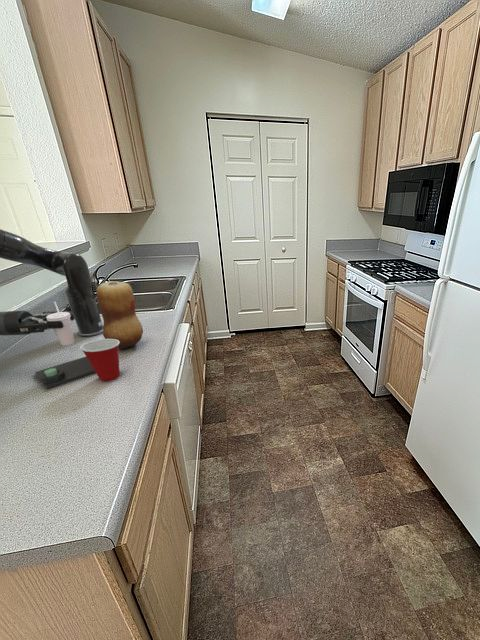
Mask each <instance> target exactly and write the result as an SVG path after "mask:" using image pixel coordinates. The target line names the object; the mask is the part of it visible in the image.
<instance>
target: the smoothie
mask: <svg viewBox="0 0 480 640" xmlns="http://www.w3.org/2000/svg"><path fill="white" fill-rule="evenodd" d="M53 304H54V306H55V309H56V312H58V313H53V314H50V315H48V316H47V317H46V318H47V321H62V323H63V325H64V327H63V328H55V329H52V330H53V332H54V333H55V335H56V337H57V339H58V341H59V343H60V344H61V346H70V345H73V344H74V343H75V337H74V331H73V326H72V321H71V320H70V317H71V315H70V314H71V313H70V312H68V311H61V312H59V311H60V309H59V306H58V304H57V301H53Z"/></svg>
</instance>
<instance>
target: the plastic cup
mask: <svg viewBox="0 0 480 640" xmlns="http://www.w3.org/2000/svg"><path fill="white" fill-rule="evenodd" d="M119 343H120V342H119V340H116V339H105V338H100V339H94V340H90V341H87V342H85V343H82V344H81V345H80V346H79V349H80V351H81V352H82V353H83V354H84V355H85V357H87V358H88V360H89V362H90V364H91V365H92V367H93V369H94V371H95V372H96V373H95V374H96V376H97V377H98V379H99V380H100V381H101V382H111V381H114V380H116V379H118V378H119V377H120V373H121V372H120V359H119V358H120V357H119V349H118V348H119V347H118V346H119Z"/></svg>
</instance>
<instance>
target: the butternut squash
mask: <svg viewBox="0 0 480 640" xmlns="http://www.w3.org/2000/svg"><path fill="white" fill-rule="evenodd" d="M96 298H97V304H98V305H97V307H98V310H99V312H100V315H101V316H102V319H103V332H102V336H103V339H116V340H119V342H120V343H119V346H118V347H119V348H118V350H125V349H127V348H133V347H135V346H136V344H138V343H139V342H140V341H141V340H142V338H143V334H144V328H143V324H142V323H141V321H140V319H139V318H138V316H137V313H136V300H135V295H134V291H133V288H132V287H131V285H130V284H129V283H127V282H124V281H111V280H109V281H105V282H102V283H100V284H99V285H98V286H97V288H96Z"/></svg>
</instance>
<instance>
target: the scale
mask: <svg viewBox="0 0 480 640" xmlns="http://www.w3.org/2000/svg"><path fill="white" fill-rule="evenodd" d="M51 368H56V369H57V372H58V374H56V375H54V376H50V377H46V375H45V373H44V372H45V371H46V370H48V369H51ZM34 374H35V376H36V377H37V378H38V380H39V381H40V383H41V384H42V385H43V386H44V388H45V389H46V390H48V391H49V390H51V389H54V388H57V387H60V386H62V385H65V384H68V383H71V382H74V381H77V380H80V379H84V378H86V377H90V376H92V375H95V374H96V372H95V371H94V369H93V367H92V365H91V364H90V362H89V360H88V358H87V357H86V356H83V357H79V358H77V359H73V360H69V361H67V362H63V363H60V364H57V365H54V366H50V367H47V368H44V369H40V370H37V371H34Z"/></svg>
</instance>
